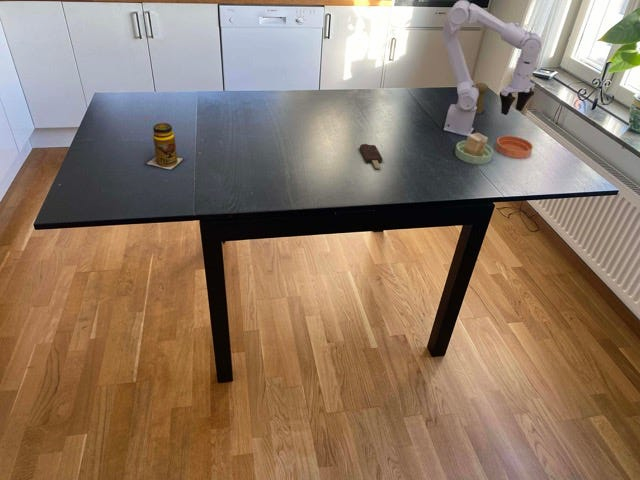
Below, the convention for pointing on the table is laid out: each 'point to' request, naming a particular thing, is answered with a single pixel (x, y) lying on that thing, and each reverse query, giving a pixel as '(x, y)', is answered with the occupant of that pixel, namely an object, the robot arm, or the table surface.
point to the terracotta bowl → (513, 147)
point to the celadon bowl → (473, 159)
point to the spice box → (475, 144)
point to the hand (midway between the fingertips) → (511, 112)
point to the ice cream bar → (371, 154)
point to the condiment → (164, 147)
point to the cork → (480, 97)
